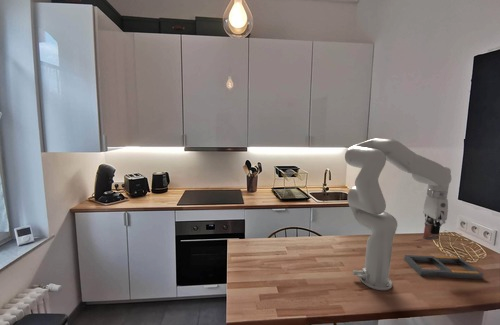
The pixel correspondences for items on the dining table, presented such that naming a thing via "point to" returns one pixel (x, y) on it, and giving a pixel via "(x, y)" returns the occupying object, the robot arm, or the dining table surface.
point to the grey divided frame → (443, 267)
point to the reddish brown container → (429, 230)
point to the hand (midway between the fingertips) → (431, 231)
